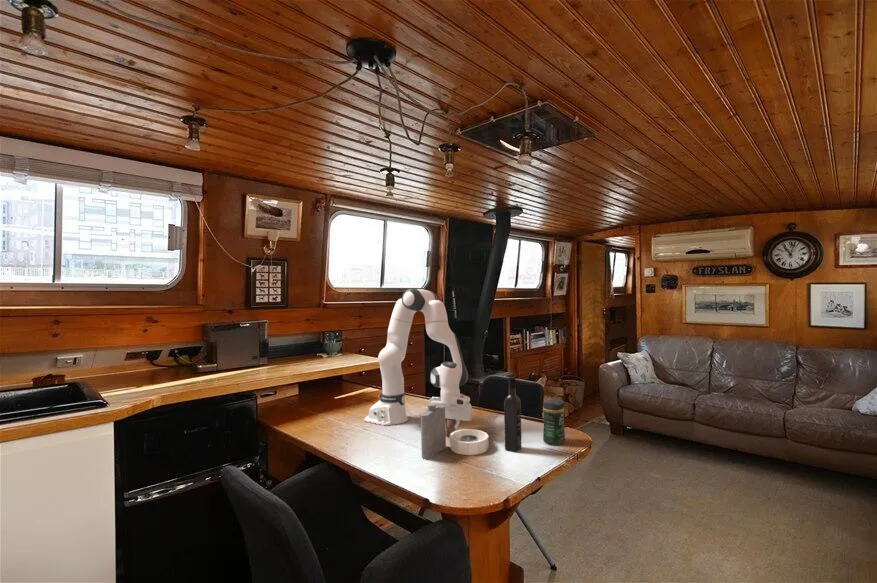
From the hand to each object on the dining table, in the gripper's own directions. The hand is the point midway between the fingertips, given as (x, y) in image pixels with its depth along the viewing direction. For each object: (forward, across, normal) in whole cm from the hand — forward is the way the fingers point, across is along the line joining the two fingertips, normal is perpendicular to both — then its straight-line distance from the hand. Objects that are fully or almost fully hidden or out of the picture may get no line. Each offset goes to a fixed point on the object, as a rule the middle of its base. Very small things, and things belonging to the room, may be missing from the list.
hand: (450, 428), depth 192 cm
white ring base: (+4, +12, -10) cm, 16 cm away
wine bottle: (+4, +30, -6) cm, 31 cm away
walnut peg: (+4, 0, 0) cm, 4 cm away
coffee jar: (+4, +45, +8) cm, 46 cm away
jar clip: (+4, +12, -10) cm, 16 cm away
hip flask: (+4, 0, -20) cm, 20 cm away
